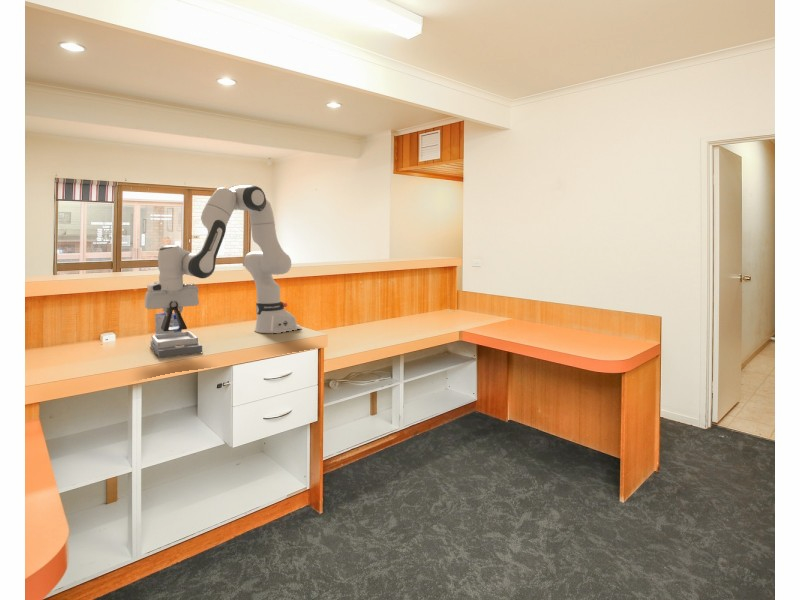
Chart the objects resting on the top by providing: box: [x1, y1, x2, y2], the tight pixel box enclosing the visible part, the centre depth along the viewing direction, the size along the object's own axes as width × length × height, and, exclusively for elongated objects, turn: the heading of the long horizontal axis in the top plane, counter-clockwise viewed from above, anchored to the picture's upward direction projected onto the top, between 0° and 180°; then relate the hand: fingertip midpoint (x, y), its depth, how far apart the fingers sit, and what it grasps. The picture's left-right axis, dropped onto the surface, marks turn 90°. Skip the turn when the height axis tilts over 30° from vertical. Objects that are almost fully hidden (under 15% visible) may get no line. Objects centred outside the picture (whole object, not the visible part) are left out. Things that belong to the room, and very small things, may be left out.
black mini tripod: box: [161, 301, 188, 331], centre depth 203 cm, size 9×6×12 cm, turn 125°
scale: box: [150, 330, 203, 359], centre depth 203 cm, size 16×20×5 cm
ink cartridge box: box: [154, 312, 183, 335], centre depth 220 cm, size 10×6×14 cm, turn 79°
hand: (173, 317), depth 203 cm, fingers closed on black mini tripod, 2 cm apart
